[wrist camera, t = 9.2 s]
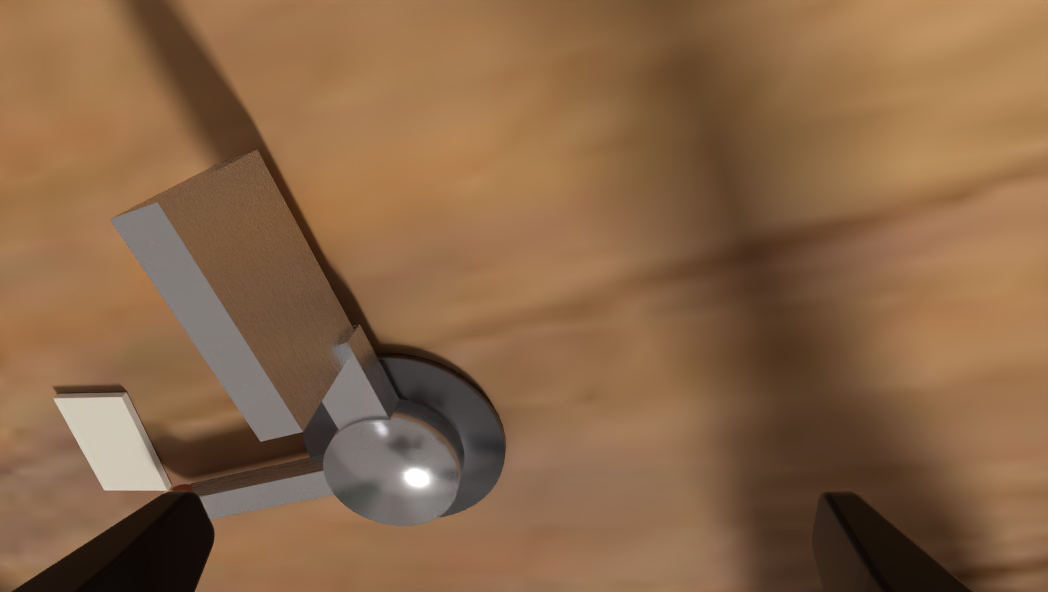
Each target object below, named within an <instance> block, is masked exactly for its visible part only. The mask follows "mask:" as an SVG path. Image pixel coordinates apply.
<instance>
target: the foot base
mask: <svg viewBox="0 0 1048 592" xmlns="http://www.w3.org/2000/svg"><path fill="white" fill-rule="evenodd" d="M376 356H377V358H378V360H379V362H380V363H381V365H382V367H383V369H384V371H385V373H386V375H387V377H388V379H389V380H390V382H391V384H392V386H393V388H394V390H395V392H396V394H397V396H398V397H399V399H402V400H408V401H411V402H415V403H418V404H421V405H423V406H425V407H427V408H429V409H431V410H433V411H435V412H436V413H438V414H439V415H441V416H442V417H443V418H444V419H446V420H447V421H448V422H449V423H450V424H451V425H452V427H453V428H454V429H455V431H456V432H457V434H458V435H459V437H460V439H461V442H462V444H463V448H464V454H465V460H464V467H463V471H462V475H461V479H460V483H459V487H458V491H457V494H456V498H455V500H454V502H453V503H452V505H451V506H450V508H449V509H448V510H447V511H446V512H445V513H443V514H442V515H441V516H439V517H444V516H448V515H452V514H455V513H458V512H460V511H463V510H465V509H467V508H469V507H471V506H473V505H475V504H476V503H477V502H479V501H480V500H482V499H483V498H484V497H485V496H486V495H487V494H488V493H489V492H490V491H491V490H492V488H493V487H494V486H495V484H496V483H497V481H498V479H499V477H500V475H501V471H502V468H503V465H504V459H505V451H506V441H505V434H504V429H503V426H502V423H501V420H500V418H499V416H498V414H497V412H496V410H495V409H494V407H493V405H492V404H491V403H490V401H489V400H488V399H487V397H486V396H485V395H484V394H483V393H482V392H481V391H480V390H479V389H478V388H477V387H476V386H475V385H474V384H472V383H471V382H470V381H469V380H467V379H466V378H465V377H463V376H462V375H460V374H458V373H457V372H455V371H454V370H452V369H450V368H448V367H446V366H444V365H441V364H439V363H436V362H433V361H431V360H428V359H424V358H420V357H416V356H411V355H404V354H376ZM337 429H338V428H337V426H336V424H335V423H334V421H333V419H332V418H331V416H330V414H329V413H328V411H327V409H326V408H325V406H324V404H323V403H322V402H321V404H320V405H319V407H318V408H317V410H316V412H315V413H314V415H313V417H312V418H311V420H310V421H309V423H308V425H307V426H306V428H305V429H304V431H303V432H302V434H303V439H304V443H305V447H306V449H307V452H308V454H309V456H310V457H314V456H319V455H323V454H325V452H326V449H327V448H328V446H329V444H330V442H331V440H332V438H333V437H334V435H335V433H336V431H337Z"/></svg>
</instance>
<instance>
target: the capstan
mask: <svg viewBox="0 0 1048 592" xmlns="http://www.w3.org/2000/svg"><path fill="white" fill-rule="evenodd" d="M110 220H111V222H112V223H113V225H114V226H115V228H116V229H117V231H118V232H119V234H120V235H121V237H122V238H123V240H124V241H125V242H126V244H127V245H128V247H129V248H130V250H131V251H132V253H133V254H134V256H135V257H136V259H137V260H138V262H139V263H140V265H141V266H142V268H143V269H144V270H145V272H146V273H147V275H148V276H149V278H150V279H151V281H152V282H153V284H154V285H155V287H156V288H157V290H158V291H159V293H160V294H161V296H162V297H163V299H164V300H165V301H166V303H167V304H168V306H169V307H170V309H171V310H172V312H173V313H174V315H175V316H176V318H177V319H178V321H179V322H180V324H181V325H182V327H183V328H184V330H185V331H186V332H187V334H188V335H189V337H190V338H191V340H192V341H193V343H194V344H195V346H196V347H197V349H198V350H199V352H200V353H201V355H202V356H203V358H204V359H205V360H206V362H207V363H208V365H209V366H210V368H211V369H212V371H213V372H214V374H215V375H216V377H217V378H218V380H219V381H220V383H221V384H222V386H223V387H224V389H225V390H226V391H227V393H228V394H229V396H230V397H231V399H232V400H233V402H234V403H235V405H236V406H237V408H238V409H239V411H240V412H241V414H242V415H243V417H244V418H245V420H246V421H247V422H248V424H249V425H250V427H251V428H252V430H253V431H254V433H255V434H256V436H257V437H258V439H259V440H260V442H262V441H266V440H270V439H275V438H279V437H283V436H288V435H292V434H296V433H301V432H303V431H304V429H305V428H306V426H307V425H308V423H309V421H310V420H311V418H312V417H313V415H314V413H315V412H316V410H317V408H318V407H319V405H320V404H321V402H322V403H323V404H324V406H325V408H326V409H327V411H328V413H329V414H330V416H331V418H332V419H333V421H334V423H335V424H336V426H337V428H338V429H337V431H336V433H335V435H334V437H333V438H332V440H331V442H330V444H329V446H328V448H327V449H326V452H325V454H323V455H319V456H314V457H310V458H305V459H301V460H296V461H291V462H287V463H282V464H278V465H273V466H269V467H264V468H259V469H255V470H250V471H246V472H241V473H237V474H232V475H227V476H223V477H218V478H214V479H209V480H205V481H200V482H195V483H191V484H190V485H189V484H182V485H177V486H174V487H172V488H170V489H168V490H167V491H165V492H164V493H166V492H170V491H192V492H195V493H196V494H197V495H198V496H199V497H200V499H201V501H202V503H203V506H204V508H205V510H206V512H207V514H208V516H209V519H213V518H218V517H223V516H228V515H233V514H238V513H243V512H248V511H253V510H258V509H263V508H268V507H273V506H278V505H283V504H288V503H293V502H298V501H303V500H308V499H313V498H318V497H323V496H328V495H333V494H334V495H335V496H336V497H337V498H338V499H339V500H340V501H341V502H342V503H343V504H344V505H345V506H347V507H348V508H349V509H351V510H352V511H354V512H356V513H357V514H359V515H361V516H363V517H365V518H367V519H370V520H373V521H376V522H379V523H383V524H388V525H397V526H411V525H418V524H422V523H426V522H429V521H432V520H434V519H436V518H437V517H439V516H441V515H442V514H443V513H445V512H446V511H447V510H448V509H449V508H450V506H451V505H452V503H453V502H454V500H455V498H456V494H457V491H458V487H459V483H460V479H461V475H462V471H463V467H464V460H465V454H464V448H463V444H462V442H461V439H460V437H459V435H458V434H457V432H456V431H455V429H454V428H453V427H452V425H451V424H450V423H449V422H448V421H447V420H446V419H444V418H443V417H442V416H441V415H439V414H438V413H436V412H435V411H433V410H431V409H429V408H427V407H425V406H423V405H421V404H418V403H415V402H411V401H408V400H402V399H399V397H398V396H397V394H396V392H395V390H394V388H393V386H392V384H391V382H390V380H389V379H388V377H387V375H386V373H385V371H384V369H383V367H382V365H381V363H380V362H379V360H378V358H377V356H376V354H375V352H374V350H373V348H372V346H371V345H370V343H369V341H368V339H367V337H366V335H365V333H364V331H363V329H362V328H361V326H360V324H358V325H354V326H352V325H351V323H350V322H349V320H348V318H347V316H346V314H345V312H344V310H343V308H342V307H341V305H340V303H339V301H338V299H337V297H336V295H335V294H334V292H333V290H332V288H331V286H330V284H329V282H328V280H327V279H326V277H325V275H324V273H323V271H322V269H321V267H320V266H319V264H318V262H317V260H316V258H315V256H314V254H313V253H312V251H311V249H310V247H309V245H308V243H307V241H306V239H305V238H304V236H303V234H302V232H301V230H300V228H299V226H298V225H297V223H296V221H295V219H294V217H293V215H292V213H291V212H290V210H289V208H288V206H287V204H286V202H285V200H284V198H283V197H282V195H281V193H280V191H279V189H278V187H277V185H276V184H275V182H274V180H273V178H272V176H271V174H270V172H269V171H268V169H267V167H266V165H265V163H264V161H263V159H262V157H261V156H260V154H259V152H258V150H254V151H251V152H248V153H246V154H243V155H240V156H237V157H235V158H232V159H229V160H226V161H224V162H221V163H218V164H216V165H214V166H212V167H210V168H208V169H207V170H205V171H203V172H201V173H199V174H197V175H195V176H193V177H191V178H189V179H187V180H185V181H183V182H181V183H179V184H177V185H175V186H173V187H171V188H170V189H168V190H166V191H164V192H162V193H160V194H158V195H156V196H154V197H152V198H150V199H148V200H146V201H144V202H142V203H140V204H138V205H136V206H134V207H133V208H131V209H129V210H127V211H125V212H123V213H121V214H119V215H117V216H115V217H113V218H111V219H110ZM164 493H163V494H164Z"/></svg>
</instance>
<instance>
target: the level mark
mask: <svg viewBox="0 0 1048 592" xmlns="http://www.w3.org/2000/svg"><path fill="white" fill-rule="evenodd" d="M53 399H54V401H55V402H56V404H57V406H58V408H59V410H60V411H61V413H62V415H63V417H64V419H65V420H66V422H67V424H68V426H69V428H70V429H71V431H72V433H73V435H74V437H75V438H76V440H77V442H78V444H79V446H80V447H81V449H82V451H83V453H84V455H85V456H86V458H87V460H88V462H89V464H90V465H91V467H92V469H93V471H94V473H95V474H96V476H97V478H98V480H99V482H100V483H101V485H102V487H103V489H104V490H168V489H169V488H170V487H171V483H170V481H169V479H168V477H167V475H166V473H165V471H164V469H163V467H162V464H161V462H160V460H159V458H158V456H157V454H156V452H155V450H154V448H153V446H152V444H151V442H150V440H149V438H148V435H147V433H146V431H145V429H144V427H143V425H142V423H141V421H140V419H139V417H138V415H137V413H136V411H135V409H134V406H133V404H132V402H131V400H130V398H129V396H128V394H127V392H122V393H72V394H58V395H57V396H56V397H54V398H53Z"/></svg>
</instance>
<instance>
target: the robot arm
mask: <svg viewBox="0 0 1048 592" xmlns="http://www.w3.org/2000/svg"><path fill="white" fill-rule="evenodd" d="M214 534H215V533H214V528H213V525H212V523H211V521H210V519H209V516H208V514H207V512H206V510H205V508H204V506H203V503H202V501H201V499H200V497H199V496H198V495H197V494H196V493H195V492H192V491H170V492H166V493H164V494H162V495H160V496H159V497H157V498H156V499H154V500H153V501H151V502H149V503H148V504H146V505H145V506H143V507H142V508H140V509H139V510H137V511H136V512H134V513H132V514H131V515H129V516H128V517H126V518H125V519H123V520H122V521H120V522H118V523H117V524H115V525H114V526H112V527H111V528H109V529H108V530H106V531H105V532H103V533H101V534H100V535H98V536H97V537H95V538H94V539H92V540H91V541H89V542H88V543H86V544H84V545H83V546H81V547H80V548H78V549H77V550H75V551H74V552H72V553H71V554H69V555H67V556H66V557H64V558H63V559H61V560H60V561H58V562H57V563H55V564H53V565H52V566H50V567H49V568H47V569H46V570H44V571H43V572H41V573H40V574H38V575H36V576H35V577H33V578H32V579H30V580H29V581H27V582H26V583H24V584H23V585H21V586H19V587H18V588H16V589H15V590H13V591H12V592H195V590H196V587H197V585H198V582H199V580H200V577H201V575H202V572H203V569H204V567H205V564H206V562H207V559H208V557H209V554H210V552H211V549H212V546H213V543H214ZM812 545H813V551H814V556H815V560H816V563H817V567H818V571H819V575H820V579H821V582H822V586H823V590H824V592H973V591H972V590H971V589H970V588H969V587H967V586H966V585H965V584H964V583H963V582H961V581H960V580H959V579H958V578H957V577H956V576H954V575H953V574H952V573H951V572H950V571H948V570H947V569H946V568H945V567H944V566H942V565H941V564H940V563H939V562H938V561H936V560H935V559H934V558H933V557H932V556H931V555H929V554H928V553H927V552H926V551H925V550H923V549H922V548H921V547H920V546H919V545H917V544H916V543H915V542H914V541H913V540H911V539H910V538H909V537H908V536H907V535H905V534H904V533H903V532H902V531H901V530H900V529H898V528H897V527H896V526H895V525H894V524H892V523H891V522H890V521H889V520H888V519H886V518H885V517H884V516H883V515H882V514H880V513H879V512H878V511H877V510H876V509H875V508H873V507H872V506H871V505H870V504H869V503H867V502H866V501H865V500H864V499H863V498H861V497H860V496H859V495H857V494H855V493H853V492H824V493H822V494H821V495H820V497H819V500H818V505H817V511H816V516H815V522H814V527H813V533H812Z"/></svg>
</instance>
